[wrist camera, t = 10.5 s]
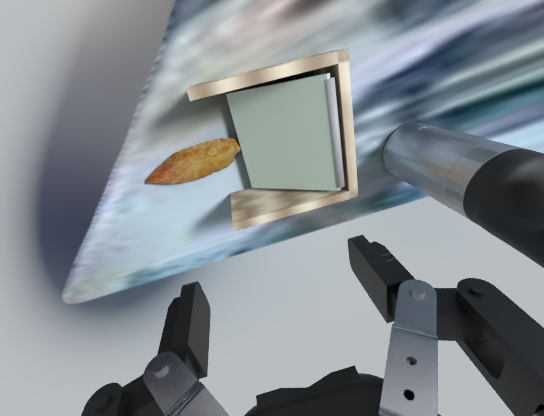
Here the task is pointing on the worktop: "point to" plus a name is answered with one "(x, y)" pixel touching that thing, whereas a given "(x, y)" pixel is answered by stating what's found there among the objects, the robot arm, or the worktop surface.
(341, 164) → the trapdoor
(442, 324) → the robot arm
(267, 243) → the worktop surface
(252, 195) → the trapdoor frame
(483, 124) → the worktop surface
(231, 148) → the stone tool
